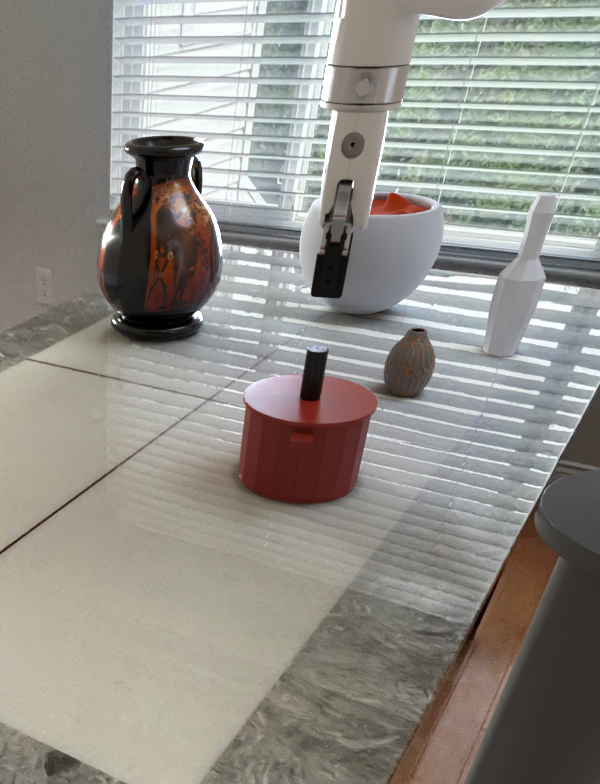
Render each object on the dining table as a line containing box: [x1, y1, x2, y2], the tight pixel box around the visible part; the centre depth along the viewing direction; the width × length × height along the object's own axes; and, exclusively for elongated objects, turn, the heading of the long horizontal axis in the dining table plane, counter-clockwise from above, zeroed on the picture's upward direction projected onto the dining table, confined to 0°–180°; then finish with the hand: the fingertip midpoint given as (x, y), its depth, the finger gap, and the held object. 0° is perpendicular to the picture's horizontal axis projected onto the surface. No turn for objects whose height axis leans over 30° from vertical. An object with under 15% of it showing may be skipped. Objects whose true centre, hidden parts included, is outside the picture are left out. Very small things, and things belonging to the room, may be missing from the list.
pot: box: [298, 190, 445, 315], centre depth 150 cm, size 24×24×18 cm
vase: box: [382, 326, 436, 397], centre depth 122 cm, size 7×7×9 cm
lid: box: [242, 345, 379, 428], centre depth 97 cm, size 15×15×7 cm
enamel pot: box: [237, 406, 372, 505], centre depth 102 cm, size 14×20×10 cm
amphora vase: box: [96, 134, 224, 342], centre depth 141 cm, size 22×22×28 cm
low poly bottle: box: [482, 192, 557, 357], centre depth 129 cm, size 6×6×22 cm
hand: (328, 283), depth 91 cm, fingers open, 9 cm apart
